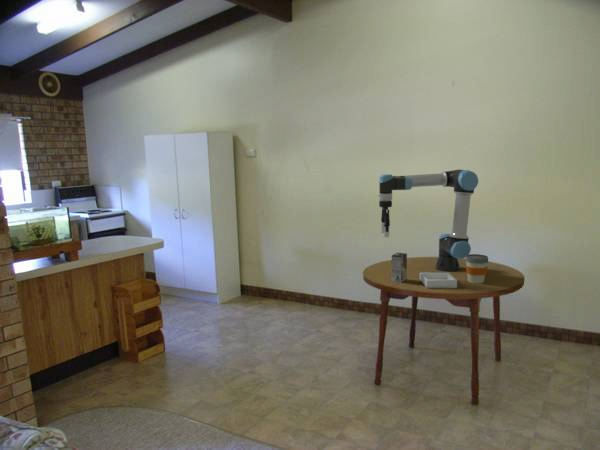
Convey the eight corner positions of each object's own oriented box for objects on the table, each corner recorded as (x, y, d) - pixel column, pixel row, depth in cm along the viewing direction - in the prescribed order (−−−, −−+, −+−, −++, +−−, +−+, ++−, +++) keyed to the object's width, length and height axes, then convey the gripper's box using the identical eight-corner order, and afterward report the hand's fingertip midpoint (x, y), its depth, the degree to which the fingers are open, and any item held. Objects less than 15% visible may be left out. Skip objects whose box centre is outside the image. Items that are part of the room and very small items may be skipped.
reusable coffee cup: (467, 277, 292) (468, 253, 290) (488, 279, 286) (490, 255, 284) (462, 282, 282) (463, 257, 279) (485, 285, 275) (486, 259, 273)
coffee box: (396, 277, 293) (397, 252, 290) (406, 279, 289) (407, 253, 287) (391, 281, 285) (391, 255, 283) (401, 283, 282) (401, 256, 279)
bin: (447, 279, 287) (448, 272, 287) (456, 287, 271) (457, 280, 270) (419, 279, 288) (419, 272, 287) (426, 288, 271) (426, 280, 270)
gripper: (376, 198, 300) (376, 231, 304) (382, 202, 276) (381, 239, 279) (388, 198, 300) (388, 231, 303) (395, 202, 275) (394, 238, 279)
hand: (385, 235), depth 291 cm, fingers open, 13 cm apart
